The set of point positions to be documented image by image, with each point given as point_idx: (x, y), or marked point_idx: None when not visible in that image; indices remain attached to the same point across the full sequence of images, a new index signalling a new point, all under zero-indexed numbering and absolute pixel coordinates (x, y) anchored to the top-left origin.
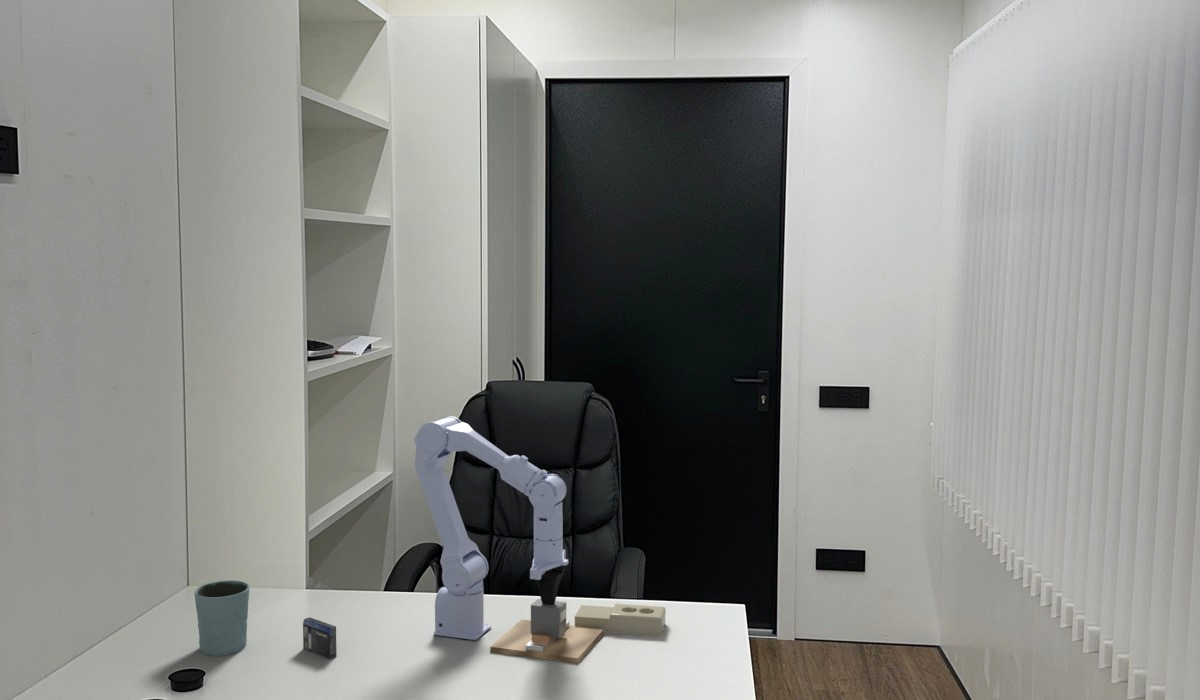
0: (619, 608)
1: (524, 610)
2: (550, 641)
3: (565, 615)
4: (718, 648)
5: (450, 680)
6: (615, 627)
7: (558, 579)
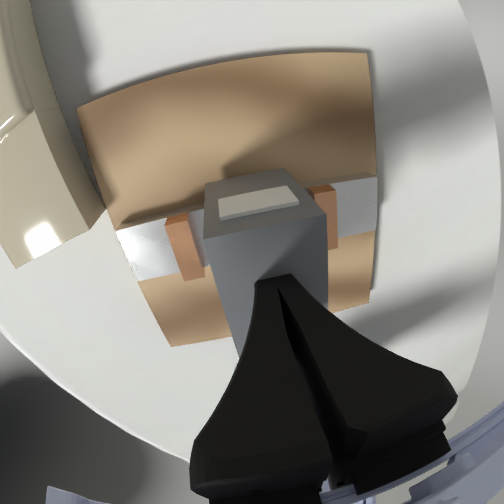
0: None
1: (106, 365)
2: (308, 185)
3: (225, 201)
4: None
5: (475, 265)
6: (44, 89)
7: (303, 388)
